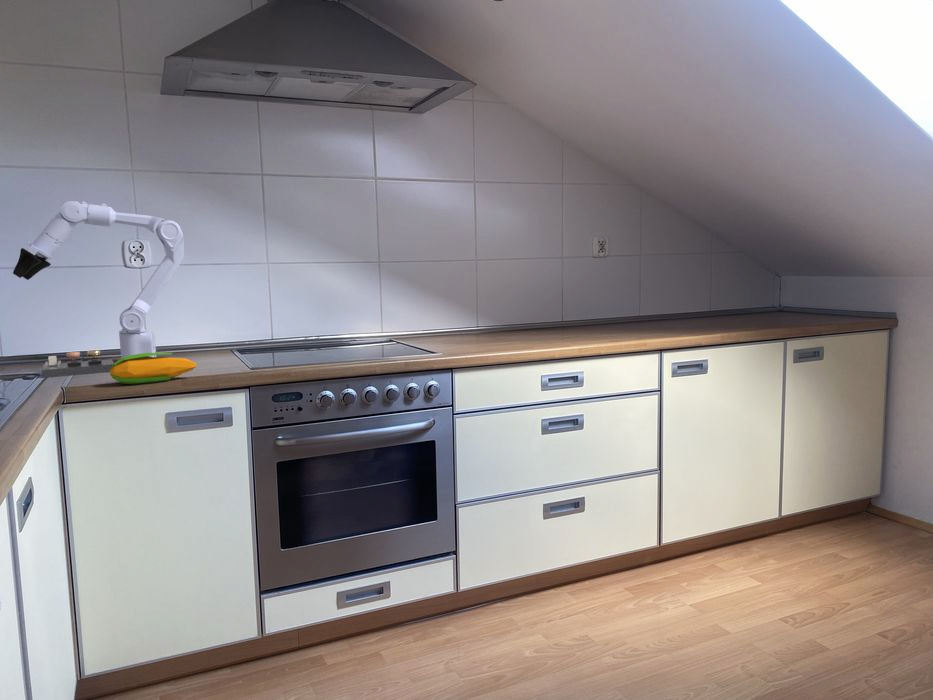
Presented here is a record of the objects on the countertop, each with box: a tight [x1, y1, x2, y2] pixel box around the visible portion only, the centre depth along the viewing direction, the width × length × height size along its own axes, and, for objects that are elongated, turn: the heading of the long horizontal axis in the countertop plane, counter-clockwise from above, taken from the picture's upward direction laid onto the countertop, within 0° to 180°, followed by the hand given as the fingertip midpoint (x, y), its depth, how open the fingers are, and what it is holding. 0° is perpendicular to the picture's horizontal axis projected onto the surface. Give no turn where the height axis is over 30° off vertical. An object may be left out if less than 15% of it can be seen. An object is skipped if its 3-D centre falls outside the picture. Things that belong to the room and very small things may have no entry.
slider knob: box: [48, 355, 58, 365], centre depth 189 cm, size 2×2×2 cm
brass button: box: [87, 349, 102, 360], centre depth 192 cm, size 3×3×2 cm
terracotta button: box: [65, 351, 81, 361], centre depth 189 cm, size 3×3×2 cm
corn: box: [109, 352, 197, 385], centre depth 173 cm, size 7×8×20 cm
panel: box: [41, 358, 115, 379], centre depth 190 cm, size 17×11×3 cm, turn 119°
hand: (20, 276), depth 191 cm, fingers open, 7 cm apart
